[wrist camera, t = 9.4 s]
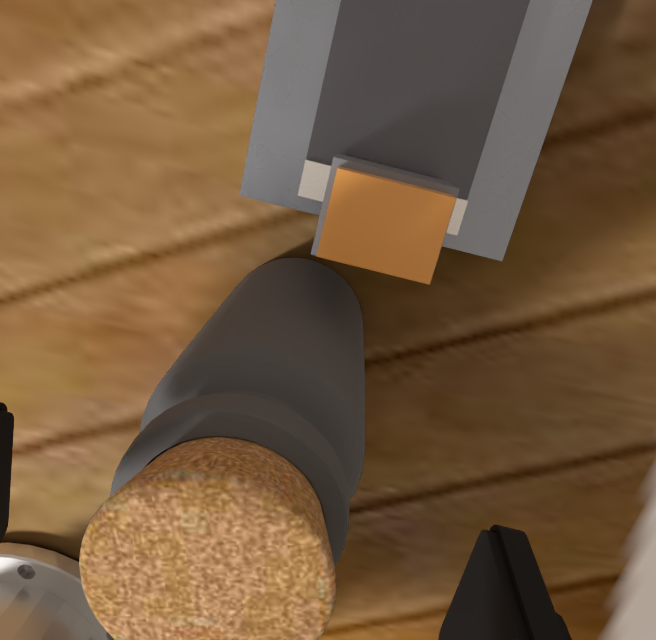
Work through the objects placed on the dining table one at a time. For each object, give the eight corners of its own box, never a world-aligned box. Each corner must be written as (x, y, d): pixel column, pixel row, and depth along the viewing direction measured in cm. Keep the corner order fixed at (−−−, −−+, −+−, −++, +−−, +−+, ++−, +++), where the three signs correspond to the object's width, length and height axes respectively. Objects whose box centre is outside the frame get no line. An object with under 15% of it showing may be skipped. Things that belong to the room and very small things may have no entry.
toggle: (419, 260, 20) (434, 293, 16) (318, 235, 20) (307, 261, 16) (443, 180, 19) (466, 192, 15) (337, 153, 19) (331, 158, 15)
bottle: (381, 279, 24) (414, 500, 9) (340, 400, 25) (314, 739, 11) (246, 237, 23) (70, 398, 9) (214, 363, 25) (24, 659, 11)
